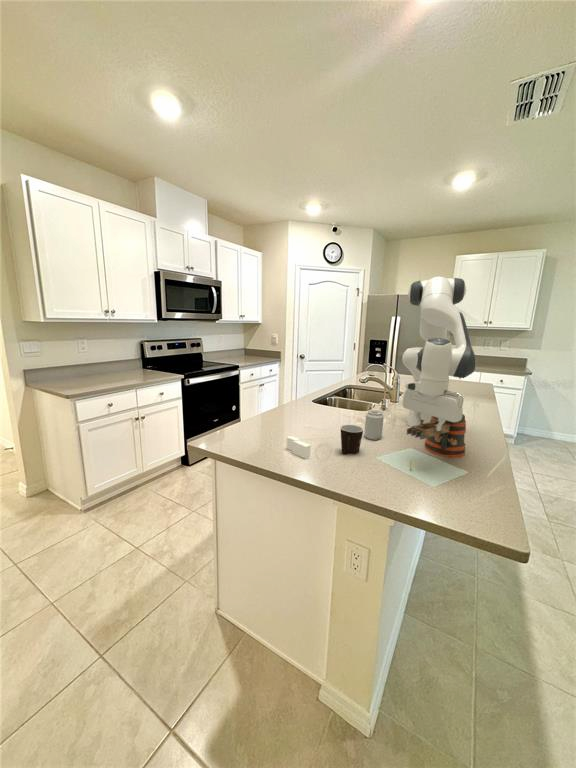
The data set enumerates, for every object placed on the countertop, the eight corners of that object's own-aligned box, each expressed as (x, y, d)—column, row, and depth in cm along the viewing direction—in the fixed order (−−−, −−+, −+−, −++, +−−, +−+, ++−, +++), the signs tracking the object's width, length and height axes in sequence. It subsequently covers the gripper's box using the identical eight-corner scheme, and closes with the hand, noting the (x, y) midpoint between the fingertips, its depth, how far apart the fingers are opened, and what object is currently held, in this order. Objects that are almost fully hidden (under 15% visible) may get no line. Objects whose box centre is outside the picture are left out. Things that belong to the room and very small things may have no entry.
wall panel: (409, 450, 124) (410, 447, 124) (468, 475, 104) (469, 472, 104) (374, 460, 113) (374, 457, 113) (432, 490, 94) (433, 487, 94)
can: (379, 435, 140) (382, 409, 137) (383, 441, 132) (385, 414, 130) (363, 434, 140) (365, 408, 138) (365, 440, 133) (367, 413, 131)
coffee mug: (347, 446, 125) (348, 423, 123) (365, 453, 119) (367, 428, 117) (329, 454, 117) (331, 429, 115) (348, 462, 111) (350, 435, 109)
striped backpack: (468, 468, 109) (476, 414, 106) (423, 459, 115) (429, 408, 111) (462, 449, 126) (469, 402, 123) (424, 442, 132) (429, 397, 128)
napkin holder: (316, 461, 112) (316, 447, 111) (285, 462, 111) (285, 447, 110) (309, 445, 127) (310, 432, 125) (282, 445, 125) (282, 432, 124)
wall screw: (410, 470, 104) (411, 460, 104) (411, 470, 104) (412, 461, 103) (409, 470, 104) (410, 460, 103) (410, 471, 104) (411, 461, 103)
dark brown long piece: (435, 427, 112) (436, 420, 112) (449, 431, 108) (450, 425, 107) (406, 434, 104) (407, 427, 103) (420, 439, 99) (421, 432, 99)
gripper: (469, 393, 95) (463, 435, 98) (413, 381, 112) (409, 418, 115) (458, 395, 92) (452, 438, 95) (401, 383, 109) (398, 420, 112)
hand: (428, 427), depth 105 cm, fingers closed on dark brown long piece, 5 cm apart
